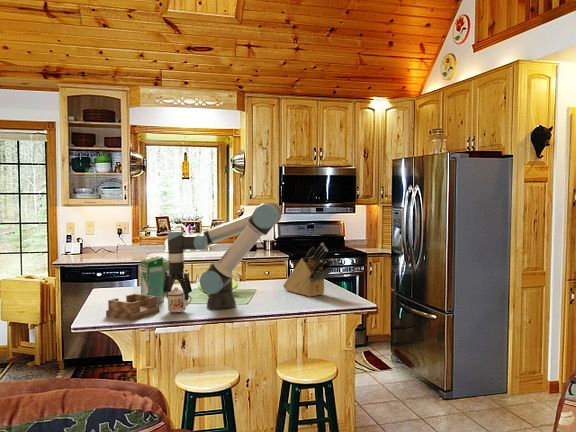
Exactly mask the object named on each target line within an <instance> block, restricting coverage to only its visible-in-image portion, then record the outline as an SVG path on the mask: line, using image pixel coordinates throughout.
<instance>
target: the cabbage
mask: <svg viewBox="0 0 576 432" xmlns="http://www.w3.org/2000/svg"><path fill="white" fill-rule="evenodd" d="M169 262H170V261H169V259H168V258H167V259H166V258H163V287H164V280H165V272H168V271H170V269H169ZM170 277H171V276H170ZM169 281H170V280H169Z"/></svg>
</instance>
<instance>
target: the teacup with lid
mask: <svg viewBox="0 0 576 432" xmlns="http://www.w3.org/2000/svg"><path fill="white" fill-rule="evenodd" d="M183 294H184V292H183V289H182V290H181V289H180V288H179V287H177V286H174V288H172V289H171V291H170V292H168V293H167V292H166V296H167V295H168V298H167V309H168V310H167V311H168V312H170V313H180V312H184V311H185V310H186V307H187V306H186V307H183ZM189 299H190V300H188V301H189V302H188V305H190V304H191V303H192V300H193V299H192V296H191V295H189Z"/></svg>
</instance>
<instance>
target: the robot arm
mask: <svg viewBox="0 0 576 432" xmlns="http://www.w3.org/2000/svg"><path fill="white" fill-rule="evenodd" d="M281 219H282V211H281V208H280V207H279V206H278V205H277V204H276V203H272V202H268V203H267V202H266V203H260V204H259V205H258V206H256V207H255V209H253V212H251V213H249V214H247V215H244V216H242V217H239V218H236V219H233V220H231V221H229V222H226V223H223V224H221V225H218V226H216V227H211V228H210V229H207V230H205V231H201V232H199V233H196V234H184V231H182V230H171V231H168V233H167V248H168V249H167V250H168V254H167V255H168V256H167V257H168V258H167V259H168V261H169V269H170V271H168V272H165V280H164V287H163V291H164V292H165V293H166V299H168V295H167V293H168V292H170V291H172V290H173V286H174V284H175V281H178V282H179V285H180V287H181V289H182V291H183V292H184V294H183V307H189V304H188V303H189V302H188V301H189V299H190V297H189V296H190V293H191V292H192V291H193V290H192V285H191V281H190V273H189V272H185V271H184V269H185V262H184V261H185V258H184V255H185V253H184V251H186V250H191V251H192V250H193V251H195V250H196V251H200V250H201V251H202V250H206V249H207V246H210V245H212V244H214V243H217V242H220V241H224V240H225V239H229V238H231V237H234V236H237V235H238V237H237V238H236V239H235V240H234V241H233V242H232V244H230V247H229V248H228V249H227V250H226V251H225V252H224V254H223V255H222V256H221V258H220V259H218V261H213V263H210V264H209V267H208V268H207V270H206V271H204V272H203V273H202V274H201V275H200V278H199V285H200V286H199V287H200V288H201V290H202V291H204V292H205V293H206V294H209V296H208V299H207V302H206V308H207V309H208V310H213V311H217V310H218V311H223V310H230V309H234V308H235V307H236V306H237V303H236V302H237V301H236V300H235V296H234V293H233V271H234V270H235V269H236V268H237V267H238V265H240V262H242V260H243V259H245V258H244V257H246V255H247V254H248V253H249V251H250V250H251V249H252V248H253V247H254V246H255V245H256V243H257V242H258V241H259V239H260V238H261V237H263V236H267V235H268V233H269V232H271V230H272V229H273V228H274V226H275V225H277V224H278V223H279V222H280V220H281ZM170 276H171V277H170ZM169 280H170V281H169Z"/></svg>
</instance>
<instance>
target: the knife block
mask: <svg viewBox="0 0 576 432" xmlns="http://www.w3.org/2000/svg"><path fill="white" fill-rule="evenodd" d="M328 252H329V249H328V248H327V247H326V246H325V243H324V242H321V243H320V245H319V246H318V247H317V249H316V248H315V246H311V248H310V249H309V250H308V252H307V253H306V256H305V257H303V258H300V260H299V261H298V263H297V264H296V266H295V267H294V268H293V270H292V271H291V273H290V275H289V276H288V278H287V279H286V281H285V282H284V283H283V284H282V286H283V288H284V290H285V291H287V292H291V293H296V294H298V295H299V294H300V295H303V296H307V297H308V298H309V297H310V298H312V297H314V296H319V295H320V296H322V295H324V294H325V278H326V277H328V276H329V274H330V273H331V272H333V270H334V269H333V268H332V267H330V266H331V264H332V263H333V261H334V260H333V259H334V258H330V259H328V258H325V257H326V256H327V254H328ZM324 258H325V259H324ZM329 267H330V268H329Z"/></svg>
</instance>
